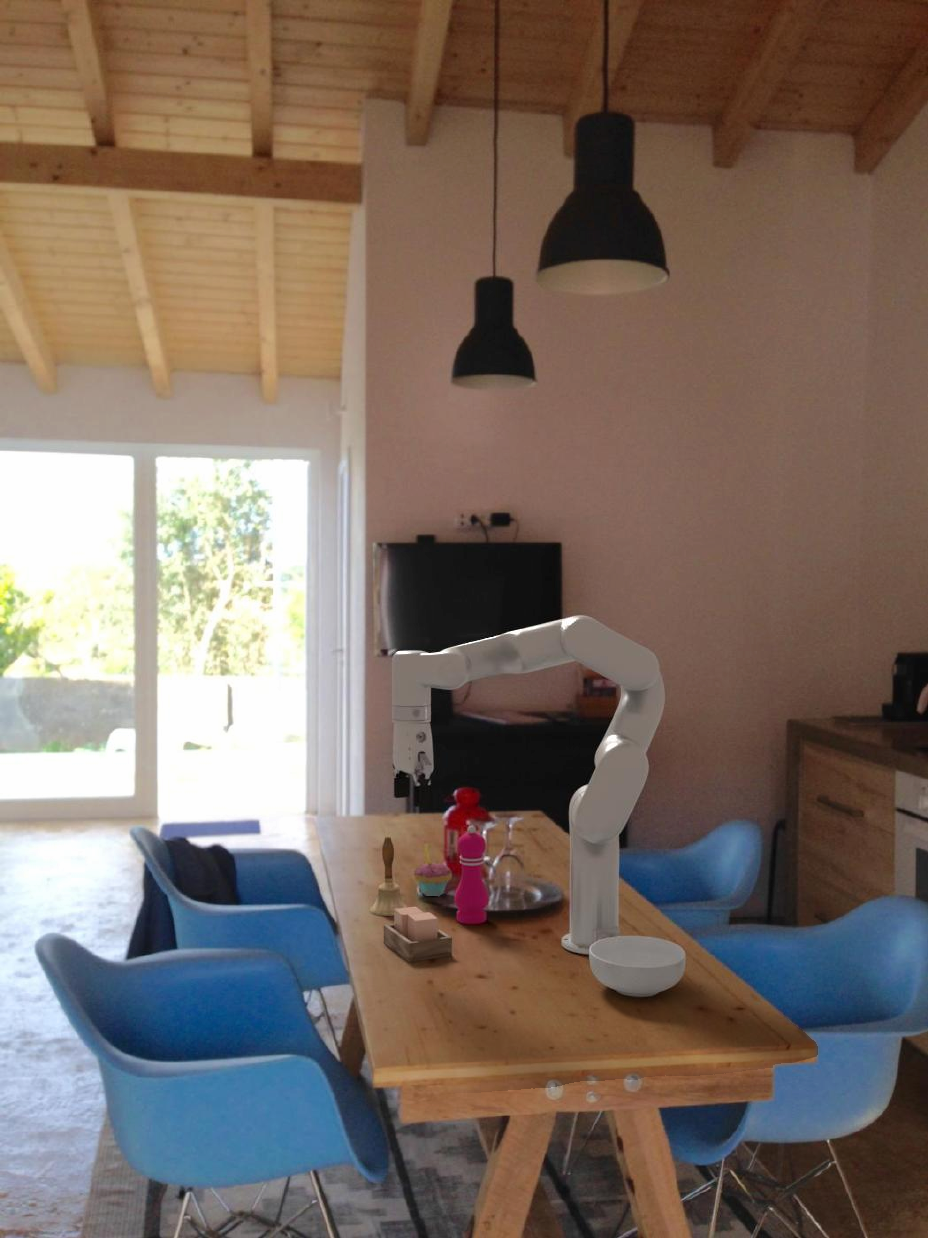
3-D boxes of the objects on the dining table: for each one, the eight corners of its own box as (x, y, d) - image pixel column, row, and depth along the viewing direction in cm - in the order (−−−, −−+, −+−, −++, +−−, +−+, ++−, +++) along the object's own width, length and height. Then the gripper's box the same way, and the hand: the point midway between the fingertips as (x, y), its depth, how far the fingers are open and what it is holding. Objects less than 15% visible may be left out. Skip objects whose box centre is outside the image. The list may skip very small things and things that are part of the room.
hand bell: (379, 918, 253) (379, 843, 253) (363, 908, 261) (363, 835, 260) (414, 913, 257) (414, 839, 256) (398, 903, 264) (398, 831, 264)
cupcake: (408, 897, 270) (408, 844, 269) (423, 887, 278) (423, 836, 277) (443, 901, 266) (443, 847, 266) (457, 891, 274) (457, 839, 274)
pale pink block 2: (437, 949, 230) (437, 918, 229) (415, 952, 228) (415, 920, 228) (429, 942, 234) (429, 912, 234) (407, 945, 232) (407, 914, 232)
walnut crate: (451, 955, 228) (451, 937, 228) (409, 962, 225) (409, 943, 224) (424, 937, 240) (424, 919, 240) (383, 942, 236) (383, 925, 236)
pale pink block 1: (423, 943, 234) (423, 912, 233) (401, 945, 232) (401, 915, 232) (415, 936, 238) (415, 906, 237) (394, 939, 236) (394, 909, 236)
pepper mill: (485, 926, 247) (485, 830, 247) (451, 924, 249) (451, 828, 248) (491, 916, 255) (491, 822, 254) (458, 914, 256) (458, 821, 255)
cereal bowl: (570, 983, 213) (570, 943, 213) (644, 968, 222) (644, 930, 221) (628, 1013, 199) (628, 971, 198) (705, 996, 207) (706, 955, 206)
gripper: (447, 718, 227) (447, 808, 228) (411, 708, 242) (411, 792, 243) (411, 720, 224) (411, 811, 224) (377, 710, 239) (377, 795, 240)
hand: (411, 801), depth 234 cm, fingers open, 9 cm apart
